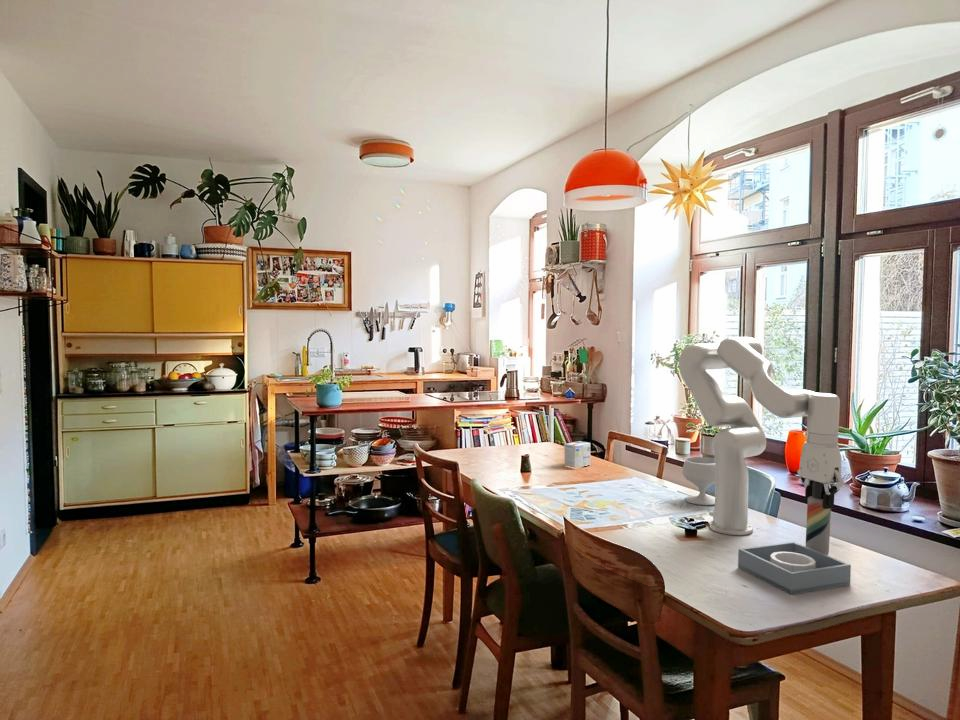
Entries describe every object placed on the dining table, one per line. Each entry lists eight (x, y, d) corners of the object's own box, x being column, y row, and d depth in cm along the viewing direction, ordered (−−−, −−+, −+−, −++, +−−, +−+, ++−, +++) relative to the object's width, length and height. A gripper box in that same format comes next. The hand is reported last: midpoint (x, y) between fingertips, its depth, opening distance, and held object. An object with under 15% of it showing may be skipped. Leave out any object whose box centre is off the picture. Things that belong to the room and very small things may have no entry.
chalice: (707, 509, 223) (708, 466, 223) (673, 500, 235) (674, 459, 234) (731, 502, 232) (731, 461, 231) (697, 494, 243) (698, 454, 242)
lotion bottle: (808, 547, 181) (811, 477, 180) (830, 552, 177) (834, 480, 176) (802, 553, 177) (806, 481, 175) (826, 558, 173) (829, 484, 172)
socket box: (738, 567, 169) (738, 548, 169) (793, 559, 175) (793, 541, 175) (791, 594, 152) (791, 573, 152) (850, 585, 158) (850, 564, 158)
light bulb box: (579, 464, 297) (579, 440, 296) (591, 466, 292) (591, 442, 291) (563, 467, 290) (563, 443, 289) (574, 469, 285) (575, 445, 284)
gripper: (786, 434, 182) (784, 497, 183) (837, 446, 166) (834, 515, 167) (807, 433, 184) (805, 495, 185) (860, 444, 168) (856, 513, 169)
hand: (819, 504), depth 176 cm, fingers closed on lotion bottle, 5 cm apart
